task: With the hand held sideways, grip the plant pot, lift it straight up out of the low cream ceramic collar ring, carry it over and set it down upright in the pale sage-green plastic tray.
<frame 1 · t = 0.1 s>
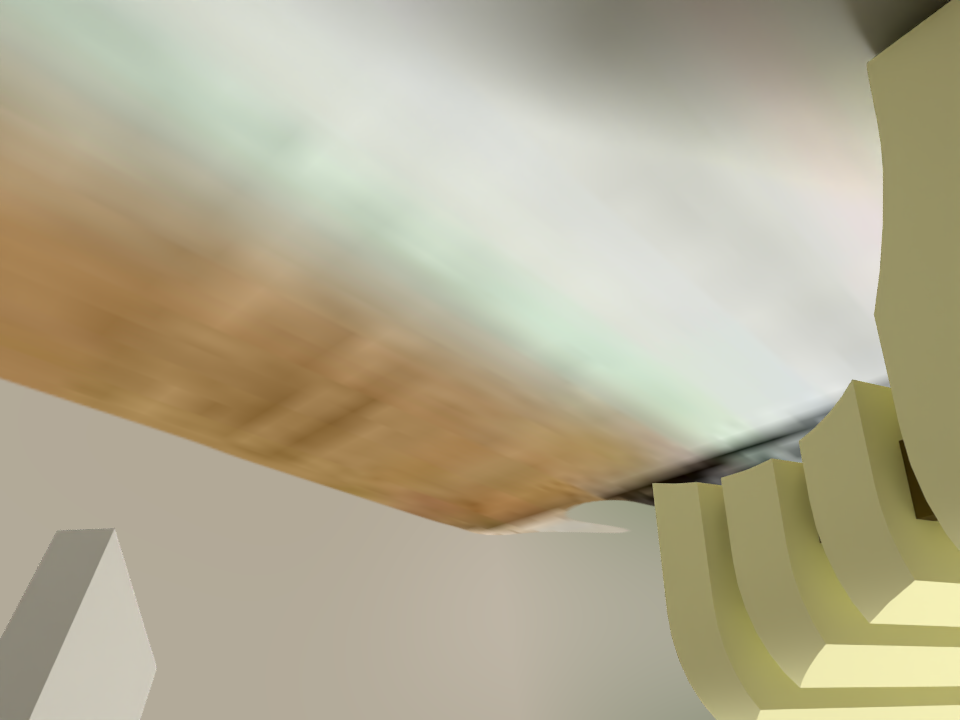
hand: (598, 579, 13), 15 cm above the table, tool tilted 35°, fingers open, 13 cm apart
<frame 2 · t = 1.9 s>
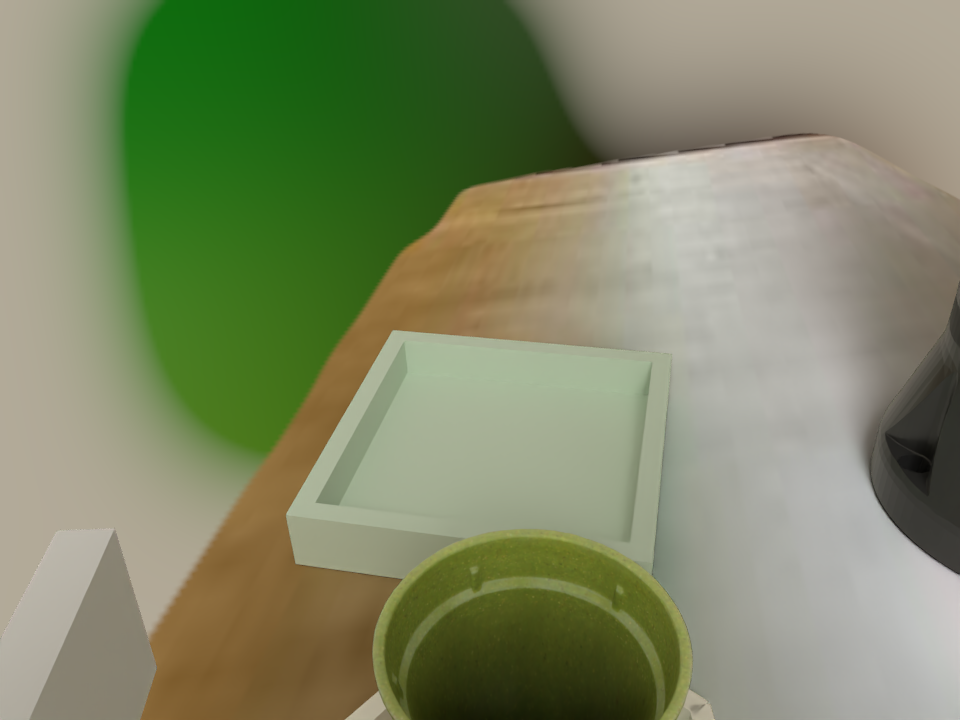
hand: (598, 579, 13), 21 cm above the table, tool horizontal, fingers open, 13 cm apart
tray: (501, 472, 47), on the table
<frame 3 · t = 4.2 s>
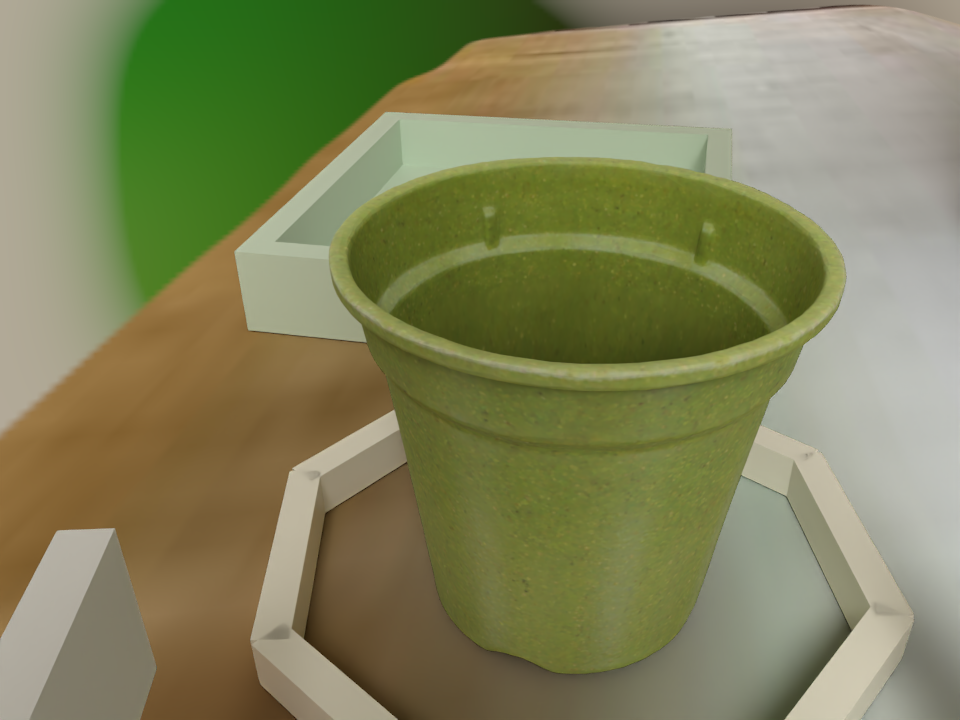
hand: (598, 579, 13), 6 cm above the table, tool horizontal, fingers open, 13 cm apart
collar ring: (567, 573, 22), on the table
tray: (517, 252, 37), on the table
plant pot: (567, 580, 22), resting in collar ring
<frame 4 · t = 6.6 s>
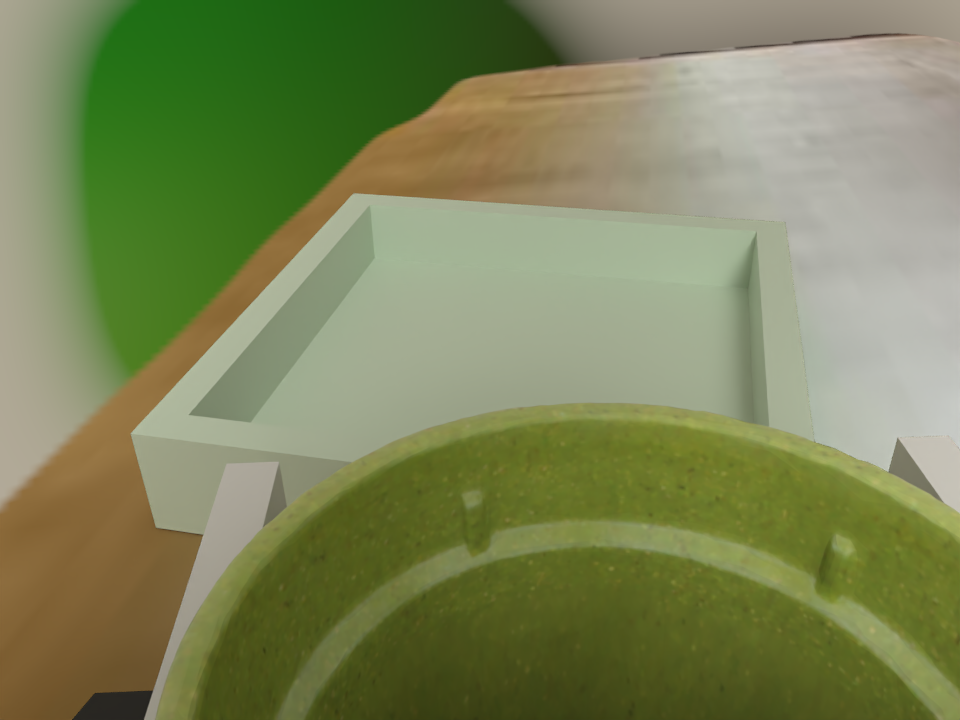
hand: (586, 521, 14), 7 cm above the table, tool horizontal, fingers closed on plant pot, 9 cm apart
tray: (518, 392, 29), on the table
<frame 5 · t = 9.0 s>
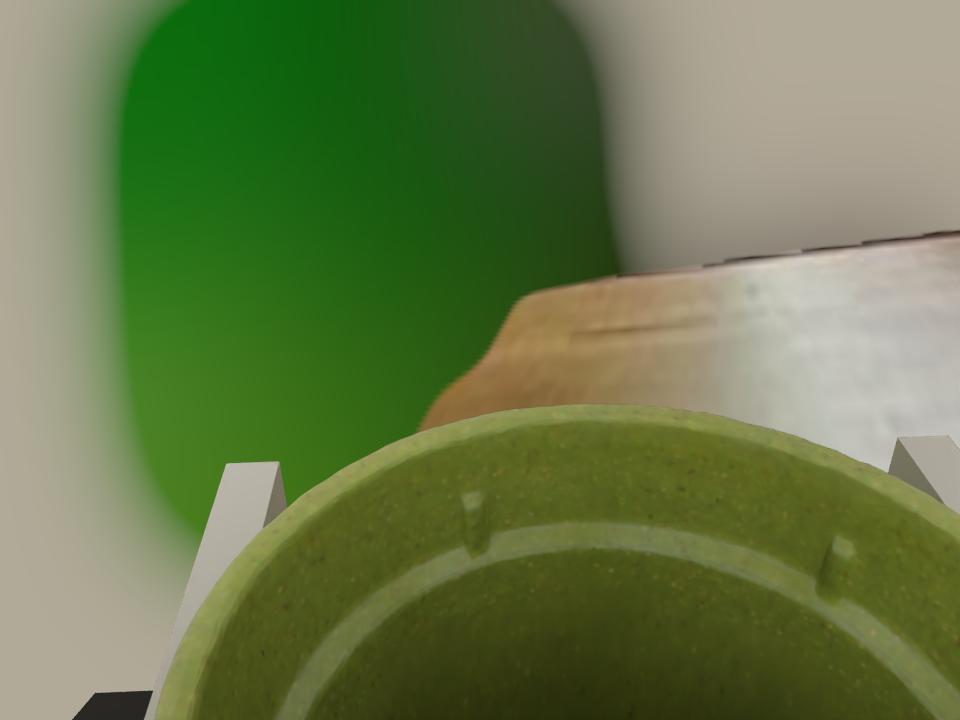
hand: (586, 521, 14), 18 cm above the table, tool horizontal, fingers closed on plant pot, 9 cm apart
when the fingers open (9 cm above the table, at t = 11.7 s): plant pot moves 3 cm, point 1 cm above the table.
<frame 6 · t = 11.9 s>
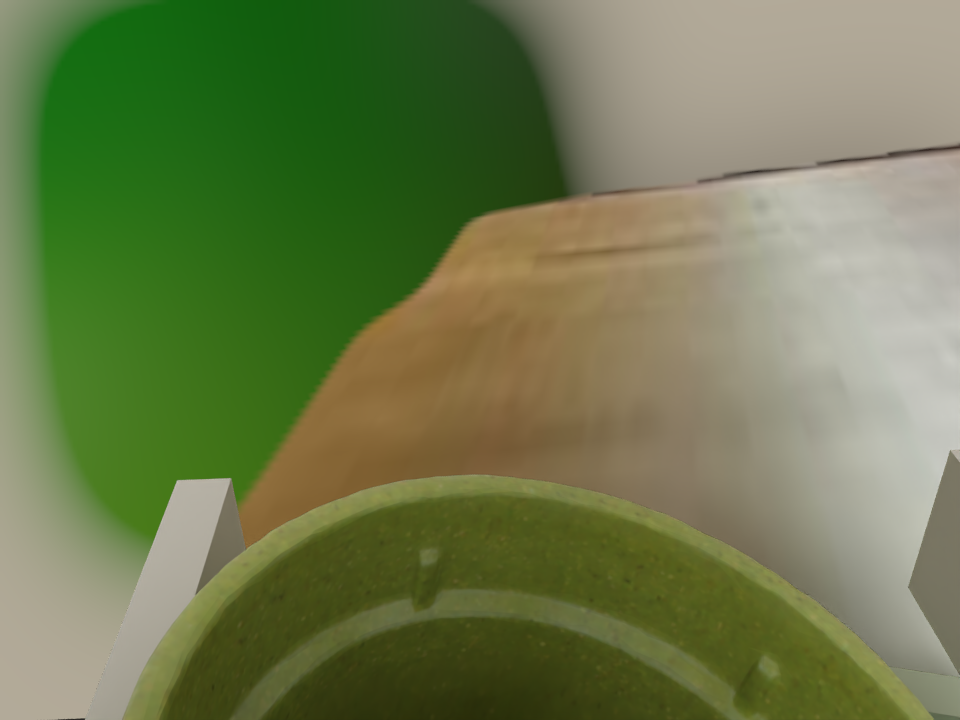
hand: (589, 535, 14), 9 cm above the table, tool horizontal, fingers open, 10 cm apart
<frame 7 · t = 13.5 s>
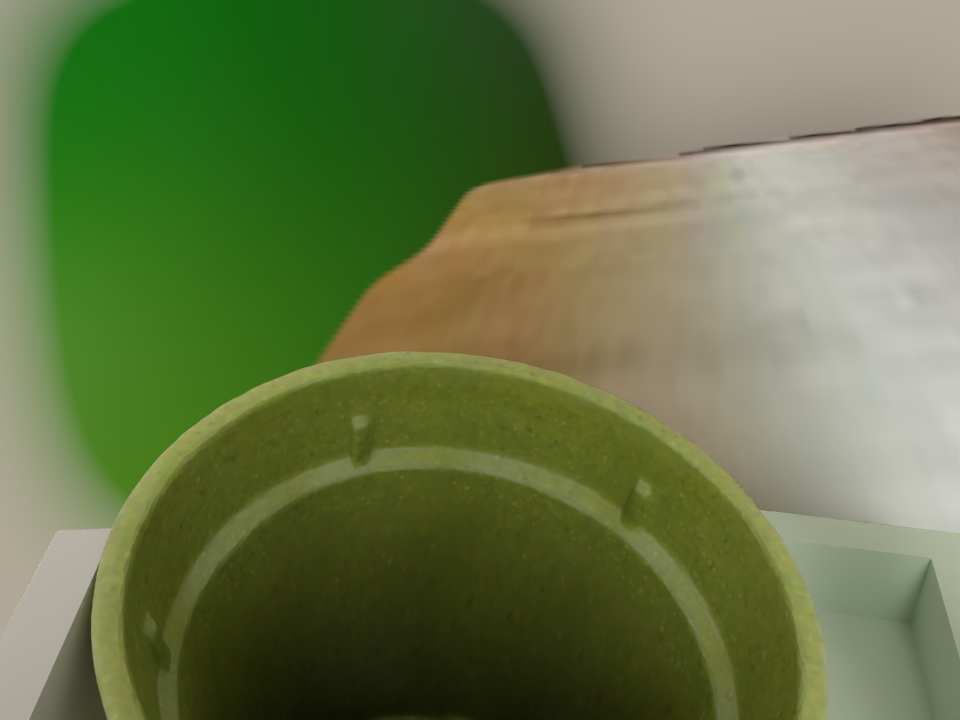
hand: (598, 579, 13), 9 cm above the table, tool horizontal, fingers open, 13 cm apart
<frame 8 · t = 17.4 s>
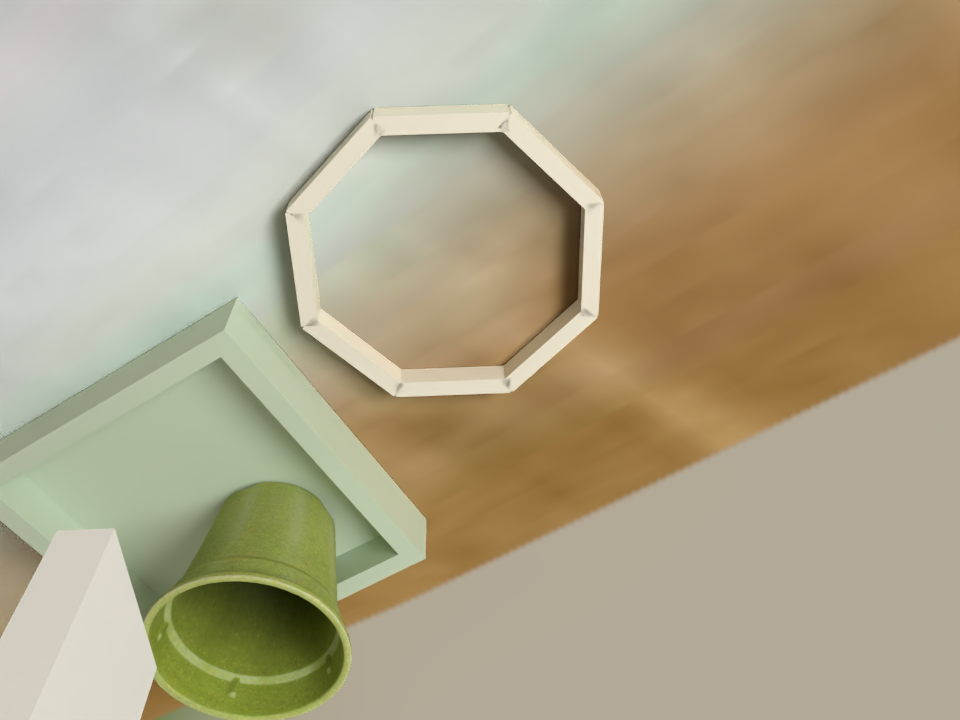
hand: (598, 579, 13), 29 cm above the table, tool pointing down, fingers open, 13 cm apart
collar ring: (447, 255, 42), on the table
tray: (214, 485, 48), on the table
plant pot: (276, 521, 49), point 1 cm above the table, touching tray
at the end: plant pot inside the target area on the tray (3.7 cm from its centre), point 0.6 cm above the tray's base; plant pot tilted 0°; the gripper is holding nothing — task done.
